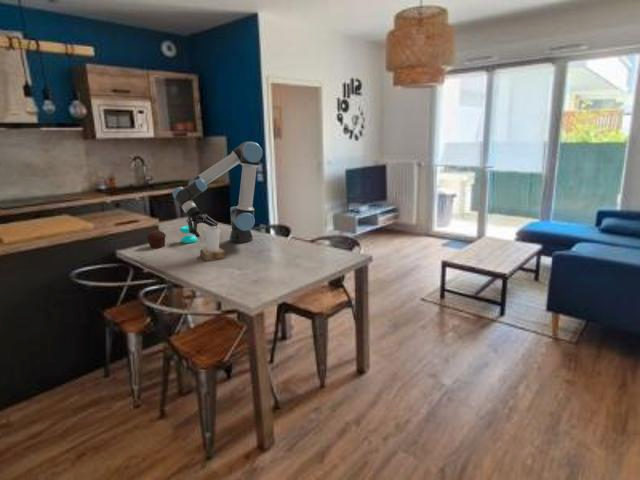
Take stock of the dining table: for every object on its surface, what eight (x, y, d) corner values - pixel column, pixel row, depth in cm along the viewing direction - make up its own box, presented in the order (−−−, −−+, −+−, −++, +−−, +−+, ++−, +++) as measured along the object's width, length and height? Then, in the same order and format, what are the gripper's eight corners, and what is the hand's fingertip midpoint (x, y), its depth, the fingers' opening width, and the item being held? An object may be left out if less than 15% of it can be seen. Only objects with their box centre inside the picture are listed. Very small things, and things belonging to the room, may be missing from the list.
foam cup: (217, 252, 233) (215, 230, 230) (201, 252, 235) (199, 230, 231) (223, 248, 242) (222, 226, 239) (209, 247, 244) (207, 226, 240)
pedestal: (220, 252, 247) (220, 246, 246) (226, 257, 237) (225, 251, 236) (200, 255, 242) (199, 249, 241) (205, 261, 231) (204, 254, 230)
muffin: (154, 250, 255) (152, 234, 252) (144, 247, 261) (142, 232, 258) (170, 245, 264) (169, 230, 261) (161, 243, 270) (159, 228, 268)
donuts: (177, 226, 271) (192, 224, 277) (179, 241, 274) (194, 238, 279) (182, 229, 263) (197, 227, 269) (184, 244, 266) (199, 242, 271)
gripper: (204, 210, 252) (224, 237, 248) (171, 218, 231) (192, 247, 228) (210, 202, 248) (230, 229, 244) (176, 209, 227) (198, 239, 224)
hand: (212, 238), depth 236 cm, fingers open, 13 cm apart
